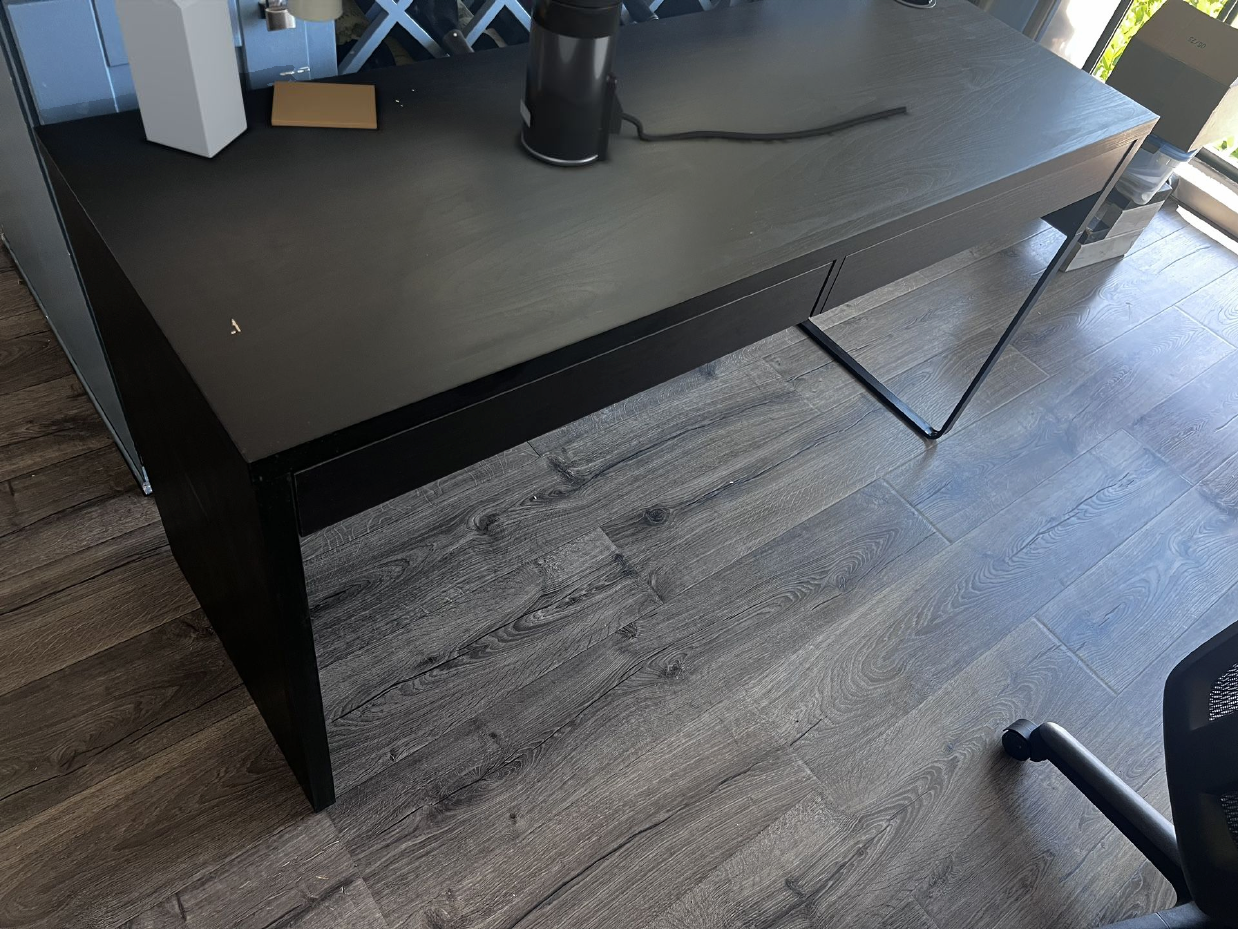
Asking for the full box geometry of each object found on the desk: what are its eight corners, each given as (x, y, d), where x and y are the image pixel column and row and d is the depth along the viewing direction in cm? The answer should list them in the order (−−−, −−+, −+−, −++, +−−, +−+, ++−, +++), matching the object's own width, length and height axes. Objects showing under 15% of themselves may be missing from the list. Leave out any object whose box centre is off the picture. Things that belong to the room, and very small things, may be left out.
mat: (374, 90, 110) (374, 85, 110) (376, 129, 104) (376, 123, 104) (275, 85, 107) (274, 80, 107) (271, 125, 102) (271, 120, 101)
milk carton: (248, 129, 100) (218, -63, 87) (210, 160, 96) (173, -39, 82) (187, 112, 101) (148, -82, 87) (147, 141, 96) (98, -58, 82)
